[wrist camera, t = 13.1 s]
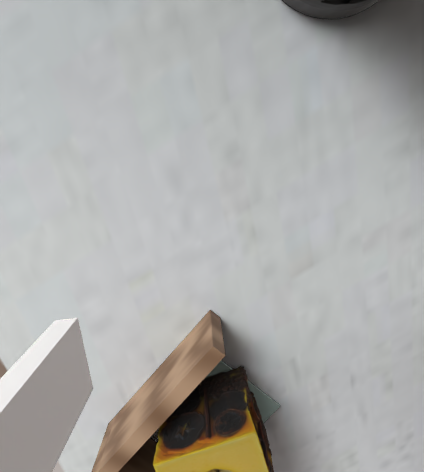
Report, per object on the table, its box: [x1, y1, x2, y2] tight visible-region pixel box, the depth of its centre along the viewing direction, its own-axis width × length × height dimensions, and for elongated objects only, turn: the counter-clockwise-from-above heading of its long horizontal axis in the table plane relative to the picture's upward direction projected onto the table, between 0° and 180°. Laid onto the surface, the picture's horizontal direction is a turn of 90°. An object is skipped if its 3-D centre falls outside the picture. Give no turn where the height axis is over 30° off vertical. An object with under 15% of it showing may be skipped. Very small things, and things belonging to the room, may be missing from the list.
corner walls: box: [92, 310, 225, 472], centre depth 38 cm, size 19×16×8 cm
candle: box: [153, 366, 274, 472], centre depth 36 cm, size 10×10×10 cm
